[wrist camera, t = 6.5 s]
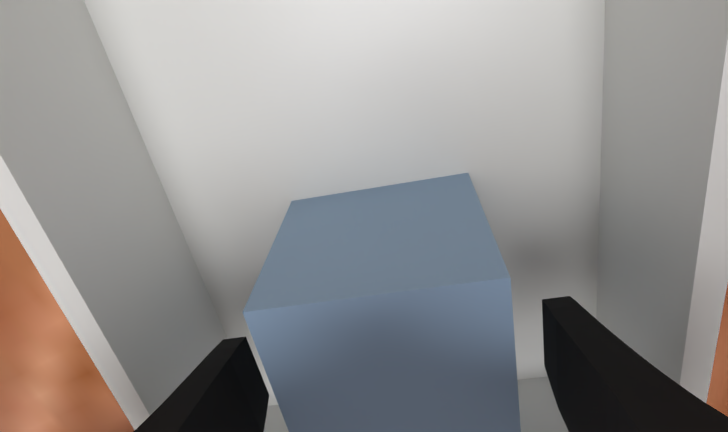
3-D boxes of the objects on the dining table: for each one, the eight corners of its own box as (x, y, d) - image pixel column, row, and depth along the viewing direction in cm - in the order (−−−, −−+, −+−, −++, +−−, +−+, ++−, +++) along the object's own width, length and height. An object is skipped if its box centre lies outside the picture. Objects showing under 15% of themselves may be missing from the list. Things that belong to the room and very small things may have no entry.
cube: (468, 172, 13) (510, 277, 8) (483, 316, 15) (523, 461, 10) (291, 200, 13) (242, 312, 9) (330, 334, 16) (306, 478, 11)
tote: (633, -294, 9) (878, -567, 4) (605, 369, 16) (686, 515, 12) (22, -121, 11) (-243, -194, 6) (250, 406, 18) (205, 545, 14)
